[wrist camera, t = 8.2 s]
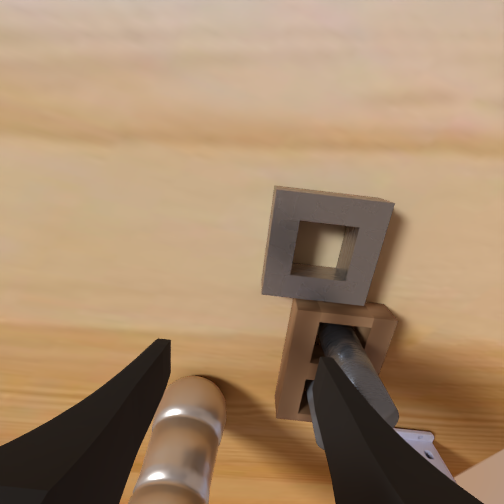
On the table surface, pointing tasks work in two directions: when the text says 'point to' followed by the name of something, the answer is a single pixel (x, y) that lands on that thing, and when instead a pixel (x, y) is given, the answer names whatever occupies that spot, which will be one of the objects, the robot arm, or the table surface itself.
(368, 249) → the socket block
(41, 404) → the table surface
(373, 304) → the rack
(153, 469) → the plastic bottle
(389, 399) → the shiny steel cylinder
